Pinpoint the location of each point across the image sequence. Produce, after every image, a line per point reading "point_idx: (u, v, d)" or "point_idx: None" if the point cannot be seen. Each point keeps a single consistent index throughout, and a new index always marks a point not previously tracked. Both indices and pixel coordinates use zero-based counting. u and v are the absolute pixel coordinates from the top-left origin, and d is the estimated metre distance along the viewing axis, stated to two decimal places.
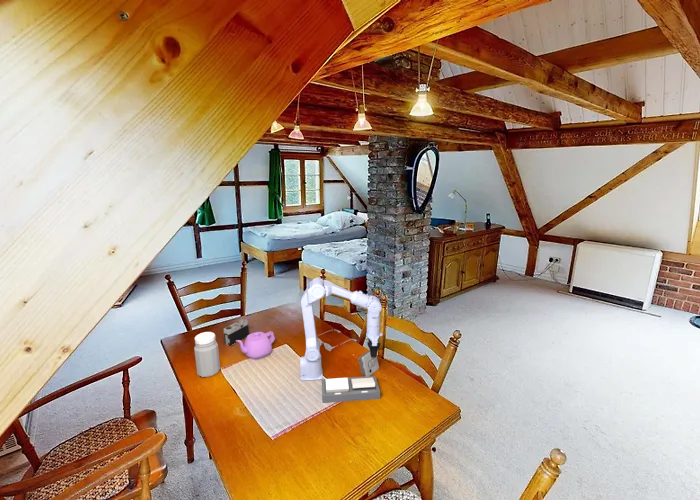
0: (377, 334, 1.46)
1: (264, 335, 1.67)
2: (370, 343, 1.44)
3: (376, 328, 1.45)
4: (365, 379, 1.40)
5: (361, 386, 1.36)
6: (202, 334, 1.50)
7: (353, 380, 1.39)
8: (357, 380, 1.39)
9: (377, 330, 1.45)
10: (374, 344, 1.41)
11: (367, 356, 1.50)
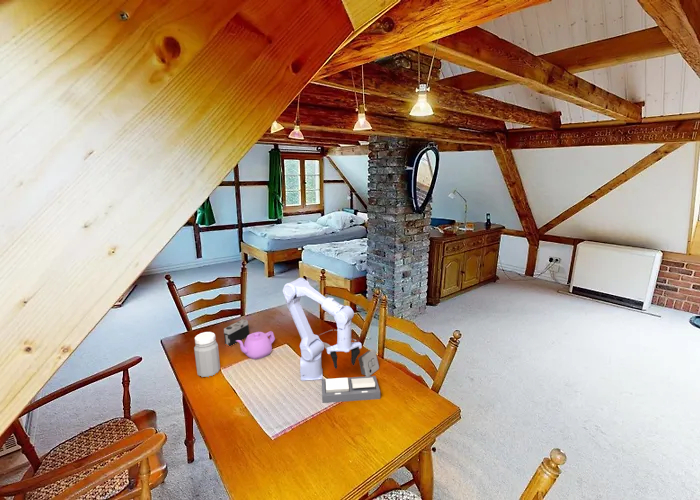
0: (340, 347, 1.36)
1: (264, 335, 1.67)
2: None
3: (339, 339, 1.36)
4: (365, 379, 1.40)
5: (361, 386, 1.36)
6: (202, 334, 1.50)
7: (353, 380, 1.39)
8: (357, 380, 1.39)
9: (340, 342, 1.36)
10: (327, 351, 1.37)
11: (367, 356, 1.50)
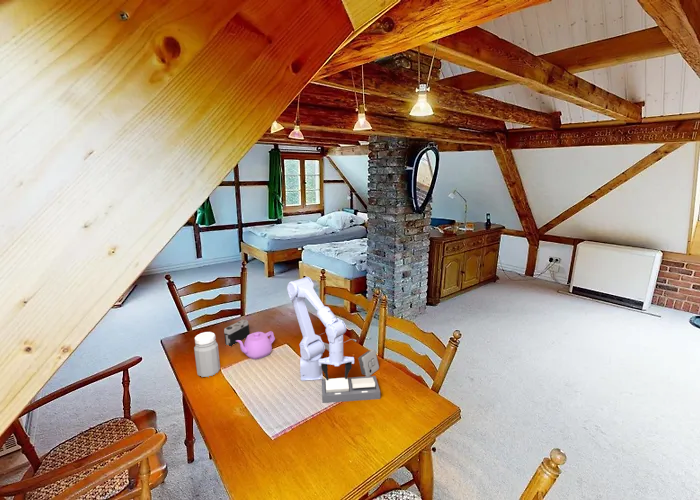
0: (331, 360, 1.36)
1: (264, 335, 1.67)
2: None
3: (330, 353, 1.35)
4: (365, 379, 1.40)
5: (361, 386, 1.36)
6: (202, 334, 1.50)
7: (353, 380, 1.39)
8: (357, 380, 1.39)
9: (330, 356, 1.35)
10: (318, 362, 1.37)
11: (367, 356, 1.50)
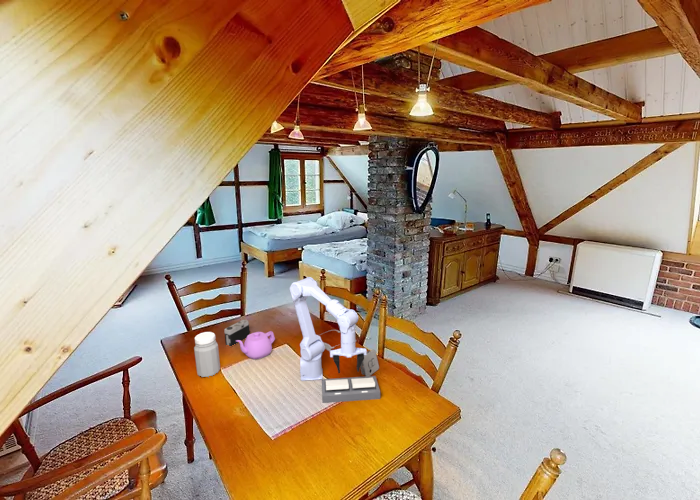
0: (342, 351, 1.33)
1: (264, 335, 1.67)
2: None
3: (341, 343, 1.33)
4: (365, 379, 1.40)
5: (361, 386, 1.36)
6: (202, 334, 1.50)
7: (353, 380, 1.39)
8: (357, 380, 1.39)
9: (342, 346, 1.32)
10: (330, 354, 1.34)
11: (367, 356, 1.50)
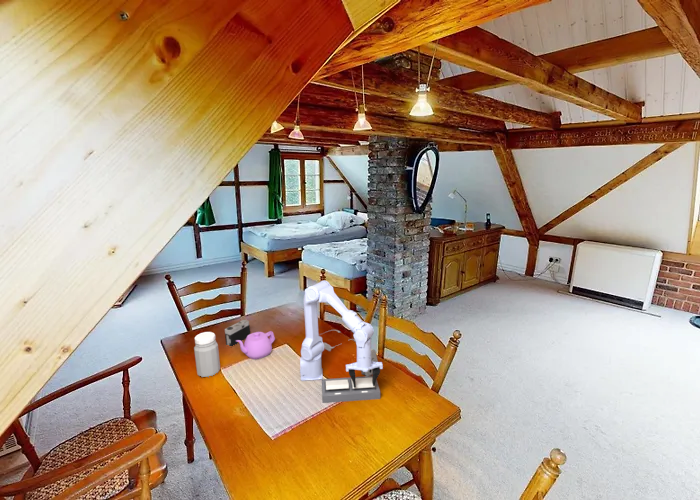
0: (358, 365, 1.32)
1: (264, 335, 1.67)
2: None
3: (357, 357, 1.31)
4: (365, 379, 1.40)
5: (361, 386, 1.36)
6: (202, 334, 1.50)
7: None
8: (357, 380, 1.39)
9: (358, 361, 1.31)
10: None
11: None
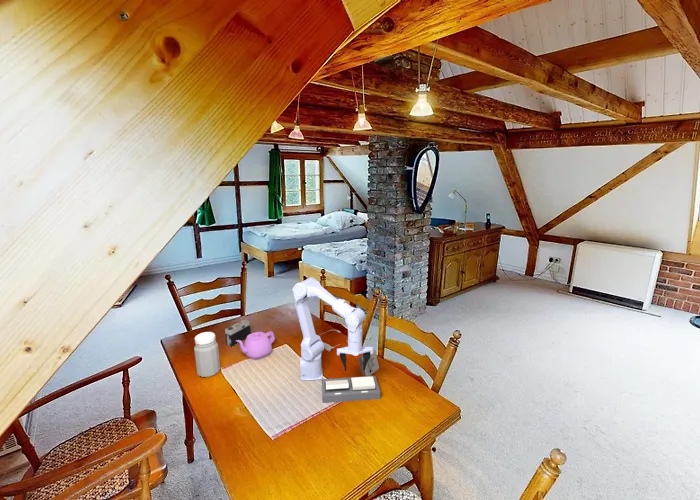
0: (349, 349, 1.34)
1: (264, 335, 1.67)
2: None
3: (348, 342, 1.34)
4: (365, 379, 1.40)
5: (361, 388, 1.36)
6: (202, 334, 1.50)
7: (353, 380, 1.39)
8: (357, 380, 1.39)
9: (349, 345, 1.33)
10: None
11: None
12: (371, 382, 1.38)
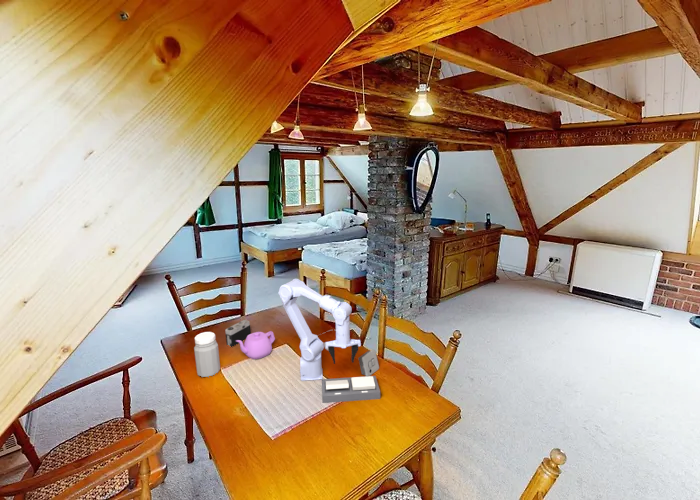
0: (337, 342, 1.38)
1: (264, 335, 1.67)
2: None
3: (336, 335, 1.38)
4: (365, 379, 1.40)
5: (361, 388, 1.36)
6: (202, 334, 1.50)
7: (353, 380, 1.39)
8: (357, 380, 1.39)
9: (337, 338, 1.37)
10: None
11: (367, 356, 1.50)
12: (371, 382, 1.38)
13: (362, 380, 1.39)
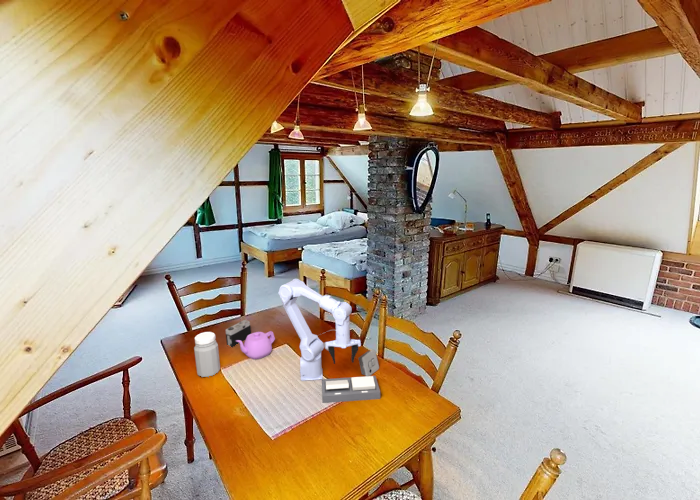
0: (337, 342, 1.38)
1: (264, 335, 1.67)
2: None
3: (336, 335, 1.38)
4: (365, 379, 1.40)
5: (361, 389, 1.36)
6: (202, 334, 1.50)
7: (353, 380, 1.39)
8: (357, 380, 1.39)
9: (337, 338, 1.37)
10: None
11: (367, 356, 1.50)
12: (371, 382, 1.38)
13: (362, 380, 1.39)
